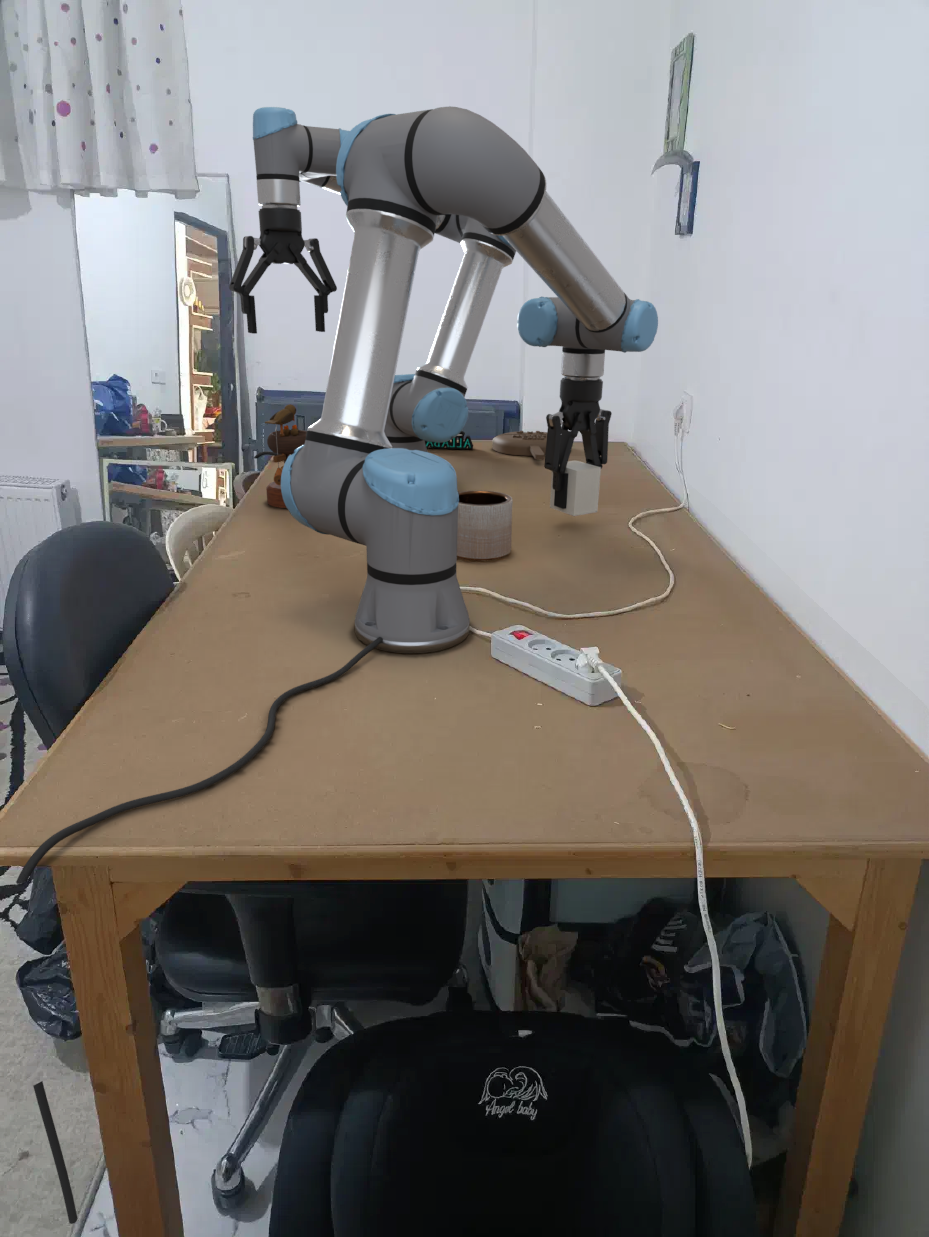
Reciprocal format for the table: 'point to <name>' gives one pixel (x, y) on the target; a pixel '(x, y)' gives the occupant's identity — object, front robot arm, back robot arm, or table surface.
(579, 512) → the brick
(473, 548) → the planter
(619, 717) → the table surface
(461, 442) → the decorative sign
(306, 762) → the table surface
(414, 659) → the table surface
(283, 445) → the music box
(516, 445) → the ice cream bar
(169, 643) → the table surface
